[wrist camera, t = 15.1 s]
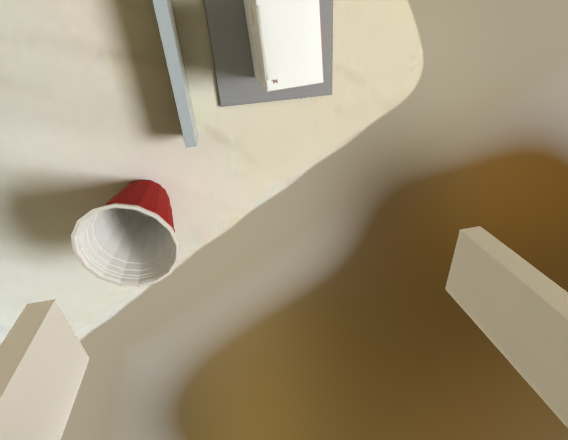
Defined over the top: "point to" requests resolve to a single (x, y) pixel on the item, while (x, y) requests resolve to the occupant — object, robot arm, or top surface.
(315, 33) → the small box
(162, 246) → the plastic cup
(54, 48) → the top surface
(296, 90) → the mat
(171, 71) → the low wall
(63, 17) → the top surface
